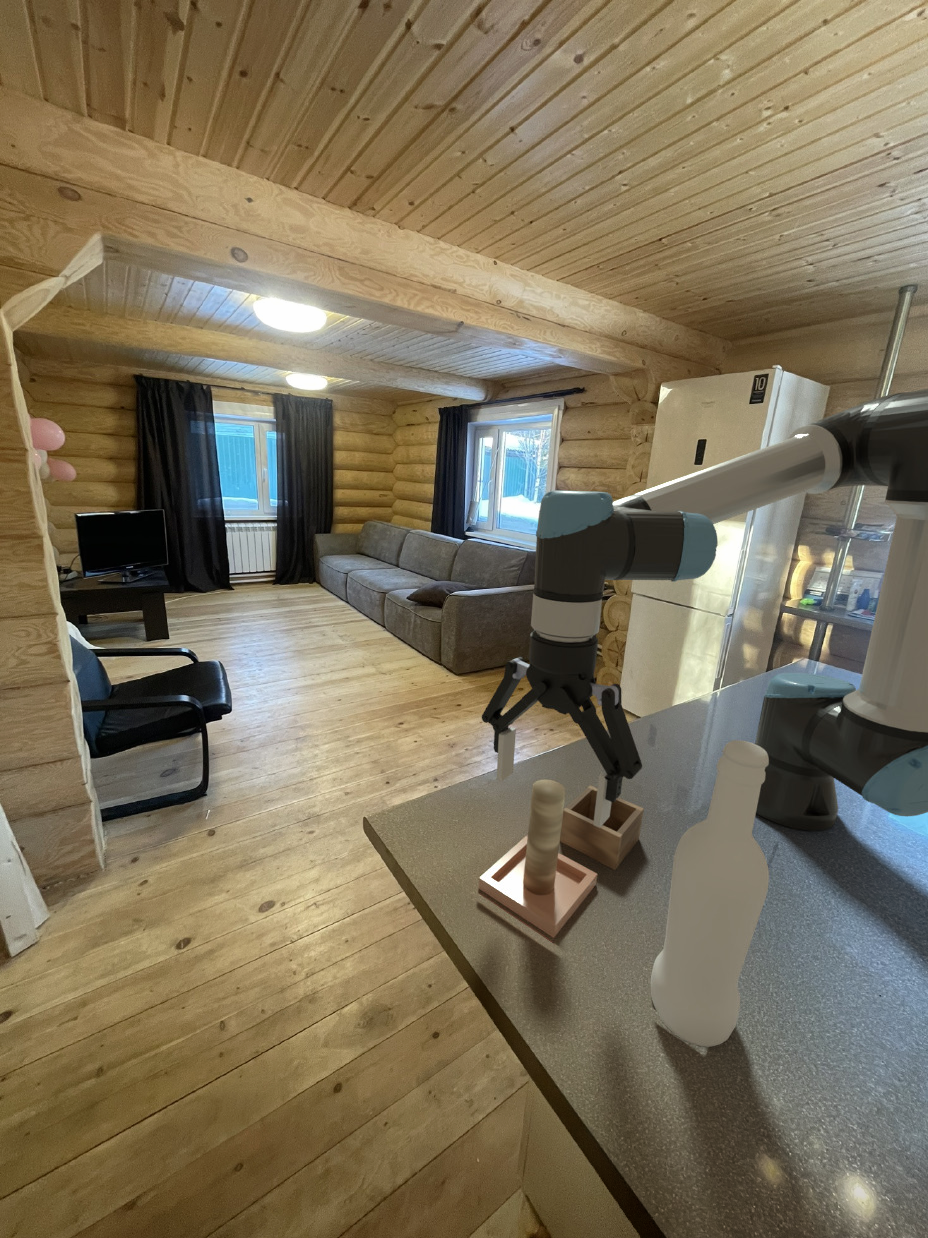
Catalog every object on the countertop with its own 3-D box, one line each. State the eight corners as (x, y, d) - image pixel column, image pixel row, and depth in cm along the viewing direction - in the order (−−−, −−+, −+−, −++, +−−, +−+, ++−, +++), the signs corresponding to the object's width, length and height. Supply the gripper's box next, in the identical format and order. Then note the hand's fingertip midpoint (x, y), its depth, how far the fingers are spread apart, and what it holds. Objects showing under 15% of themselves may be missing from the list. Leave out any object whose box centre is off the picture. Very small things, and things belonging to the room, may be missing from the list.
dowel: (560, 882, 67) (571, 788, 63) (543, 900, 64) (555, 803, 60) (533, 867, 69) (543, 775, 65) (517, 883, 66) (526, 789, 62)
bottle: (635, 975, 56) (678, 724, 48) (706, 972, 57) (759, 725, 49) (670, 1055, 48) (728, 772, 40) (751, 1050, 49) (824, 771, 41)
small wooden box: (638, 843, 77) (643, 808, 75) (614, 874, 70) (619, 837, 69) (585, 818, 82) (589, 785, 80) (559, 845, 75) (563, 810, 74)
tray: (595, 889, 68) (597, 874, 67) (553, 943, 59) (555, 926, 59) (525, 849, 74) (526, 835, 74) (478, 893, 66) (479, 877, 65)
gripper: (689, 649, 53) (662, 826, 58) (494, 606, 68) (487, 750, 74) (664, 668, 47) (637, 862, 53) (457, 617, 62) (453, 771, 68)
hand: (550, 797), depth 63 cm, fingers open, 13 cm apart
